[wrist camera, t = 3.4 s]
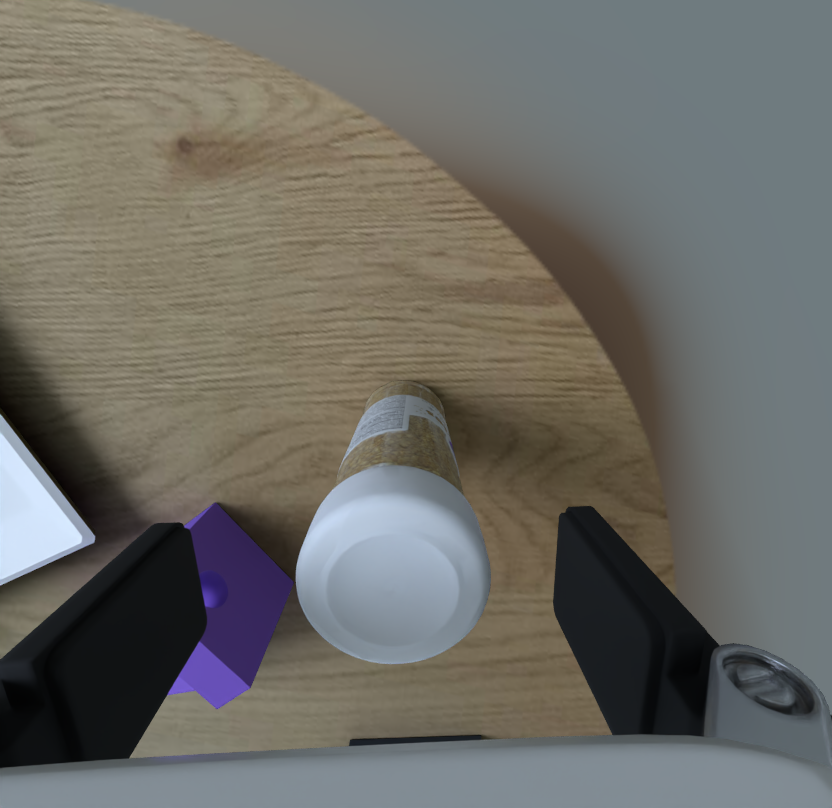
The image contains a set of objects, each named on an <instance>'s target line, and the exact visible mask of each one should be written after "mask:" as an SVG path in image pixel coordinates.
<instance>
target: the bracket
mask: <svg viewBox="0 0 832 808" xmlns="http://www.w3.org/2000/svg"><path fill="white" fill-rule="evenodd" d="M184 528H188V529H189V530H190V532H191V535H192V540H193V545H194V551H195V556H196V561H197V566H198V571H199V577H200V582H201V587H202V592H203V598H204V603H205V608H206V613H207V626H206V630H205V632H204V634H203V636H202V638H201V640H200V641H199V643H198V645H197V646H196V648H195V650H194V651H193V653H192V654H191V656H190V658H189V659H188V661H187V663H186V664H185V666H184V668H183V669H182V671H181V673H180V674H179V676H178V678H177V679H176V681H175V683H174V684H173V686H172V688H171V689H170V691H169V693H168V694H167V695H171V694H177V693H183V692H189V691H197V692H198V693H199V694H200V695H201V696H202V697H204V698H205V699H206V700H207V701H208V702H209V703H211V704H212V705H213V706H214V707H215V708H216V709H218V708H220V707H221V706H223V705H225V704H226V703H228V702H229V701H231V700H232V699H234V698H235V697H237V696H238V695H240V694H241V693H243V692H245V691H246V690H248V689H249V688H251V685H252V683H253V681H254V678H255V676H256V673H257V671H258V668H259V666H260V664H261V661H262V659H263V656H264V654H265V651H266V649H267V647H268V644H269V642H270V639H271V637H272V634H273V632H274V630H275V627H276V625H277V622H278V620H279V618H280V615H281V613H282V610H283V608H284V605H285V603H286V601H287V598H288V596H289V593H290V591H291V588H292V586H293V584H294V582H293V581H292V580H291V579H290V578H289V577H288V576H287V575H286V574H285V573H284V572H283V571H282V570H281V569H280V568H279V567H278V566H277V565H276V563H275V562H274V561H273V560H272V559H271V558H270V557H269V556H268V555H267V554H266V553H265V552H264V551H263V550H262V549H261V548H260V547H259V546H258V545H257V544H256V543H255V542H254V541H253V540H252V539H251V538H250V537H249V536H248V535H247V534H246V533H245V532H244V531H243V530H242V529H241V528H240V527H239V526H238V525H237V524H236V523H235V522H234V521H233V520H232V519H231V518H230V517H229V516H228V515H227V513H226V512H225V511H224V510H223V509H222V508H221V507H220V506H219V505H218V504H217V503H216V502H215V503H214V504H212V505H211V506H210V507H208V508H207V509H206V510H204V511H203V512H202V513H200V514H199V515H198V516H196V517H195V518H194V519H192V520H191V521H190V522H188V523H187V524H186V525H184Z"/></svg>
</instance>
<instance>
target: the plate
mask: <svg viewBox="0 0 832 808" xmlns="http://www.w3.org/2000/svg"><path fill="white" fill-rule="evenodd" d="M94 542H95V530H94V529H93V527H92V526H91V525H90V523H89V522H88V521H87V519H86V518H85V517H84V516H83V514H82V513H81V512H80V510H79V509H78V508H77V506H76V505H75V504H74V503H73V501H72V500H71V499H70V497H69V496H68V495H67V494H66V492H65V491H64V490H63V488H62V487H61V486H60V484H59V483H58V482H57V481H56V479H55V478H54V477H53V475H52V474H51V473H50V472H49V470H48V469H47V468H46V466H45V465H44V464H43V462H42V461H41V460H40V459H39V457H38V456H37V455H36V453H35V452H34V451H33V449H32V448H31V447H30V446H29V444H28V443H27V442H26V440H25V439H24V438H23V437H22V435H21V434H20V433H19V431H18V430H17V429H16V427H15V426H14V425H13V424H12V422H11V421H10V420H9V418H8V417H7V416H6V415H5V413H4V412H3V411H2V409H1V408H0V585H2V584H5V583H7V582H9V581H11V580H13V579H15V578H18V577H20V576H22V575H24V574H26V573H29V572H31V571H33V570H35V569H37V568H40V567H42V566H44V565H46V564H48V563H50V562H53V561H55V560H57V559H59V558H61V557H64V556H66V555H68V554H70V553H72V552H75V551H77V550H79V549H81V548H83V547H85V546H88V545H90V544H92V543H94Z"/></svg>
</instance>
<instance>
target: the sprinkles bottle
mask: <svg viewBox="0 0 832 808" xmlns="http://www.w3.org/2000/svg"><path fill="white" fill-rule="evenodd" d="M490 582H491V571H490V563H489V559H488V555H487V551H486V547H485V543H484V539H483V536H482V533H481V529H480V526H479V523H478V520H477V517H476V515H475V513H474V511H473V509H472V507H471V505H470V504H469V502H468V501H467V500H466V498H465V497H464V495H463V490H462V486H461V482H460V479H459V471H458V466H457V462H456V459H455V454H454V451H453V446H452V443H451V439H450V435H449V431H448V427H447V424H446V418H445V412H444V408H443V406H442V404H441V402H440V400H439V399H438V397H437V396H436V395H435V394H434V393H433V392H432V391H431V390H430V389H429V388H428V387H426V386H424V385H422V384H420V383H417V382H412V381H393V382H390V383H388V384H386V385H384V386H382V387H380V388H379V389H378V390H376V391H375V392H374V393H373V394H372V396H371V397H370V398H369V399H368V401H367V403H366V407H365V409H364V412H363V417H362V418H361V420H360V422H359V424H358V426H357V429H356V431H355V434H354V436H353V438H352V440H351V443H350V445H349V448H348V450H347V452H346V454H345V457H344V459H343V461H342V464H341V466H340V469H339V472H338V476H337V481H336V483H335V485H334V488H333V490H332V491H331V492H330V493H329V494H328V496H327V497H326V498H325V499H324V501H323V502H322V503H321V505H320V506H319V508H318V510H317V512H316V514H315V516H314V519H313V521H312V523H311V525H310V528H309V530H308V533H307V535H306V538H305V540H304V543H303V545H302V548H301V551H300V554H299V557H298V562H297V566H296V587H297V594H298V598H299V602H300V605H301V607H302V609H303V611H304V614H305V615H306V617H307V619H308V621H309V622H310V624H311V625H312V626H313V627H314V629H315V630H316V631H317V632H318V633H319V634H320V635H321V636H322V637H323V638H324V639H325V640H326V641H328V642H329V643H330V644H332V645H333V646H334V647H336V648H338V649H339V650H341V651H343V652H345V653H347V654H349V655H351V656H354V657H356V658H359V659H363V660H366V661H370V662H376V663H384V664H403V663H412V662H416V661H421V660H424V659H427V658H430V657H433V656H435V655H438V654H440V653H442V652H444V651H446V650H447V649H449V648H450V647H452V646H454V645H455V644H456V643H458V642H459V641H460V640H461V639H463V638H464V637H465V636H466V635H467V634H468V633H469V632H470V631H471V629H472V628H473V627H474V626H475V624H476V623H477V621H478V620H479V618H480V617H481V615H482V613H483V611H484V608H485V605H486V602H487V600H488V595H489V591H490Z"/></svg>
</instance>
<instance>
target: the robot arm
mask: <svg viewBox="0 0 832 808" xmlns="http://www.w3.org/2000/svg"><path fill="white" fill-rule="evenodd" d="M553 606H554V612H555V615H556V618H557V620H558V622H559V624H560V626H561V629H562V631H563V633H564V635H565V637H566V639H567V641H568V643H569V645H570V647H571V649H572V651H573V653H574V656H575V658H576V660H577V662H578V664H579V666H580V668H581V670H582V672H583V674H584V676H585V678H586V680H587V683H588V685H589V687H590V689H591V691H592V693H593V695H594V697H595V699H596V701H597V703H598V705H599V707H600V710H601V712H602V714H603V716H604V718H605V720H606V722H607V724H608V726H609V728H610V730H611V732H612V735H600V736H561V737H535V738H513V739H491V740H469V741H447V742H425V743H404V744H384V745H364V746H345V747H325V748H306V749H287V750H269V751H250V752H232V753H215V754H198V755H181V756H164V757H147V758H130V759H129V757H130V756H131V754H132V752H133V751H134V749H135V747H136V746H137V744H138V742H139V741H140V739H141V737H142V736H143V734H144V732H145V731H146V729H147V727H148V726H149V724H150V722H151V721H152V719H153V717H154V716H155V714H156V713H157V711H158V709H159V708H160V706H161V704H162V703H163V701H164V699H165V698H166V696H167V694H168V693H169V691H170V689H171V688H172V686H173V684H174V683H175V681H176V679H177V678H178V676H179V674H180V673H181V671H182V669H183V668H184V666H185V664H186V663H187V661H188V659H189V658H190V656H191V654H192V653H193V651H194V650H195V648H196V646H197V645H198V643H199V641H200V640H201V638H202V636H203V634H204V632H205V630H206V626H207V613H206V608H205V603H204V598H203V592H202V587H201V582H200V577H199V571H198V566H197V561H196V556H195V551H194V545H193V540H192V535H191V532H190V530H189V529H188V528H184V526H183V524H182V523H157V524H154V525H152V526H151V527H149V528H148V529H147V530H146V531H145V532H144V533H143V534H142V535H140V536H139V537H138V538H137V539H136V540H135V541H134V542H133V543H131V544H130V545H129V546H128V547H127V548H126V549H125V550H124V551H122V552H121V553H120V554H119V555H118V556H117V557H116V558H114V559H113V560H112V561H111V562H110V563H109V564H108V565H107V566H105V567H104V568H103V569H102V570H101V571H100V572H99V573H98V574H96V575H95V576H94V577H93V578H92V579H91V580H90V581H89V582H87V583H86V584H85V585H84V586H83V587H82V588H81V589H79V590H78V591H77V592H76V593H75V594H74V595H73V596H72V597H70V598H69V599H68V600H67V601H66V602H65V603H64V604H63V605H61V606H60V607H59V608H58V609H57V610H56V611H55V612H54V613H52V614H51V615H50V616H49V617H48V618H47V619H46V620H44V621H43V622H42V623H41V624H40V625H39V626H38V627H37V628H35V629H34V630H33V631H32V632H31V633H30V634H29V635H28V636H26V637H25V638H24V639H23V640H22V641H21V642H20V643H19V644H17V645H16V646H15V647H14V648H13V649H12V650H11V651H10V652H8V653H7V654H6V655H5V656H4V657H3V658H2V659H0V808H832V715H830V711H829V706H828V704H827V702H826V700H825V697H824V695H823V694H822V692H821V691H820V690H819V689H818V687H817V686H816V685H815V684H814V683H813V681H812V680H810V679H809V678H808V677H807V676H806V675H804V674H803V673H802V672H801V671H800V670H798V669H797V668H796V667H794V666H793V665H791V664H789V663H788V662H786V661H785V660H783V659H782V658H779V657H777V656H775V655H773V654H771V653H769V652H767V651H765V650H761V649H758V648H755V647H752V646H749V645H741V644H734V643H733V644H725V645H721V646H719V645H718V643H717V642H716V641H715V640H714V639H713V638H712V637H711V636H710V635H709V634H708V633H707V631H706V630H705V628H704V627H702V625H701V624H700V623H699V622H698V621H697V620H696V619H695V618H694V617H693V615H692V614H691V613H690V612H689V611H688V610H687V609H686V608H685V607H684V606H683V605H682V604H681V603H680V601H679V600H678V599H677V598H676V597H675V596H674V595H673V594H672V593H671V591H670V590H669V589H668V588H667V587H666V586H665V585H664V584H663V583H662V582H661V581H660V580H659V578H658V577H657V576H656V575H655V574H654V573H653V572H652V571H651V570H650V569H649V568H648V566H647V565H646V564H645V563H644V562H643V561H642V560H641V559H640V558H639V557H638V556H637V554H636V553H635V552H634V551H633V550H632V549H631V548H630V547H629V546H628V545H627V544H626V542H625V541H624V540H623V539H622V538H621V537H620V536H619V535H618V534H617V533H616V532H615V531H614V529H613V528H612V527H611V526H610V525H609V524H608V523H607V522H606V521H605V520H604V519H603V517H602V516H601V515H600V514H599V513H598V512H597V511H596V510H595V509H594V508H593V507H592V506H579V507H568V508H567V509H566V513H561V514H560V516H559V526H558V540H557V554H556V569H555V583H554V598H553Z"/></svg>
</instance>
